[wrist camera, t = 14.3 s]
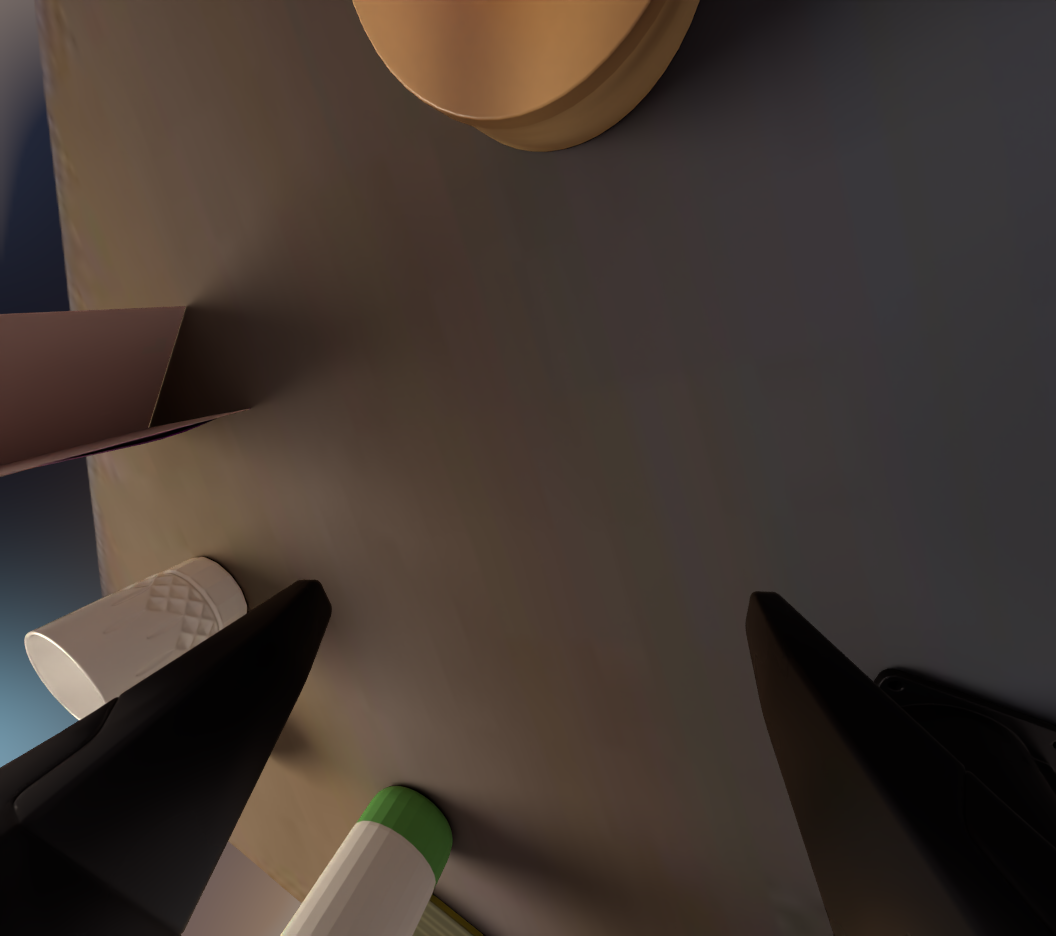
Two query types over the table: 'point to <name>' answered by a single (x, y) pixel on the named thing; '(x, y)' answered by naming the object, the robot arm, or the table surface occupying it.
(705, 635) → the table surface
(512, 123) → the birch box
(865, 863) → the robot arm
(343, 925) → the wine bottle
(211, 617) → the white cup
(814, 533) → the table surface
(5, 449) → the greeting card
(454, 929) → the hardcover book
